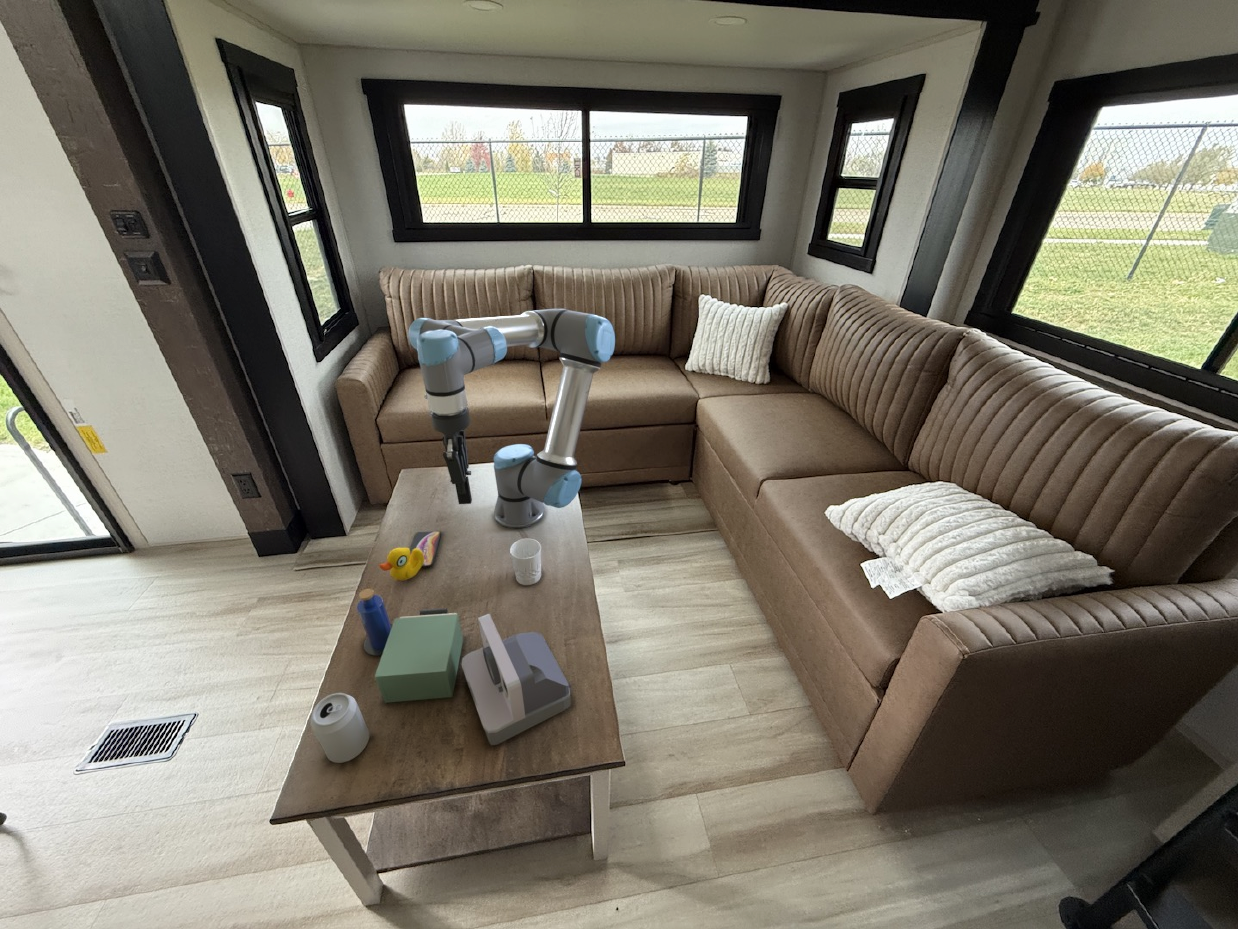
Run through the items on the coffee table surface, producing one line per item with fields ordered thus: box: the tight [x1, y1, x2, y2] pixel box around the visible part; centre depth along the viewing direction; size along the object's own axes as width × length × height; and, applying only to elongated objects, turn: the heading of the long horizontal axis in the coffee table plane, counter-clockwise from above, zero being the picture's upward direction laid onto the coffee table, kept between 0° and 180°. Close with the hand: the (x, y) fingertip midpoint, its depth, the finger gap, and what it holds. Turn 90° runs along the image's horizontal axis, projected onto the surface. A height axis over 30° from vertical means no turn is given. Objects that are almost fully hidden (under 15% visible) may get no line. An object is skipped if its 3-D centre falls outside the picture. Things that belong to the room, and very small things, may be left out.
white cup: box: [509, 537, 542, 586], centre depth 131 cm, size 8×8×10 cm
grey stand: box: [461, 613, 572, 746], centre depth 101 cm, size 21×21×15 cm
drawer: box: [399, 607, 458, 618], centre depth 110 cm, size 18×12×7 cm
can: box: [309, 692, 370, 764], centre depth 91 cm, size 8×8×12 cm
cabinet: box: [374, 613, 464, 704], centre depth 107 cm, size 15×14×9 cm
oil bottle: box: [356, 588, 392, 650], centre depth 111 cm, size 5×5×15 cm
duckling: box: [379, 547, 424, 581], centre depth 129 cm, size 11×5×10 cm, turn 144°
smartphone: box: [409, 530, 442, 569], centre depth 141 cm, size 8×1×15 cm
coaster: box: [363, 625, 392, 657], centre depth 115 cm, size 8×8×1 cm
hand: (465, 502), depth 114 cm, fingers closed
